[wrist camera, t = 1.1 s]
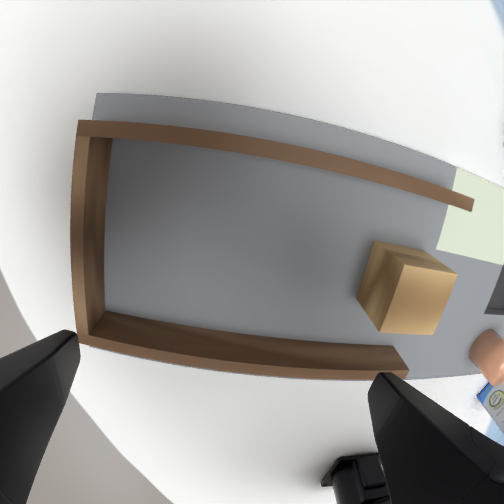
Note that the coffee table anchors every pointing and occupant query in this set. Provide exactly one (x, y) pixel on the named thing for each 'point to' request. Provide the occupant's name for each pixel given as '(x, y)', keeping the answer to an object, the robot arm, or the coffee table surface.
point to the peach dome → (489, 356)
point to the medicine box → (494, 403)
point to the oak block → (404, 289)
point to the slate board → (288, 233)
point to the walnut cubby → (194, 338)
